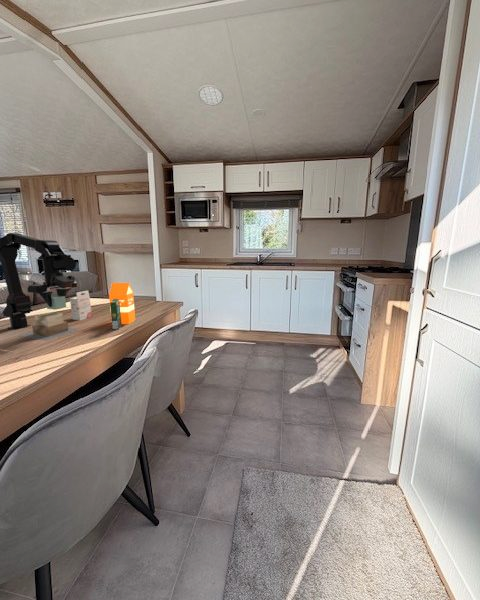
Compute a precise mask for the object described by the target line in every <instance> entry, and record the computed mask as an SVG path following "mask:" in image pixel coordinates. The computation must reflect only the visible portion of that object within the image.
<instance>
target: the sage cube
mask: <svg viewBox="0 0 480 600" xmlns="http://www.w3.org/2000/svg"><path fill="white" fill-rule="evenodd" d="M51 300H52V307H49V306H48V304H47V303H46V302H45V304H46V309H47V310H54V311H55V310H60V309H64V308H67V301H66V296H58V295H51Z"/></svg>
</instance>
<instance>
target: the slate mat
mask: <svg viewBox="0 0 480 600" xmlns="http://www.w3.org/2000/svg"><path fill="white" fill-rule="evenodd" d="M80 330H81V328H75V327H68V331H65V332H62V333H59V334H56V335H53V336H49V337H48V336H40V335H33V331H32V332H28V333H26V334H21V335H19V337H21V338H29V339H34V340H42V341H49V340H52V339H55V338H58V337H61V336H64V335H67V334H71V333H74V332H76V331H80Z"/></svg>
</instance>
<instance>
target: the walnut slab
mask: <svg viewBox="0 0 480 600" xmlns="http://www.w3.org/2000/svg"><path fill="white" fill-rule="evenodd" d="M31 327H32V332H33V335H40V336H48V337H49V336H53V335H56V334H59V333H62V332H65V331H68V328H69V325H68V321H64V322H63V323H59V324H56V325H52V326H49V327H48V326H39V325H36V324H32V325H31Z"/></svg>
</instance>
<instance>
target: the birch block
mask: <svg viewBox="0 0 480 600" xmlns="http://www.w3.org/2000/svg"><path fill="white" fill-rule="evenodd" d="M34 319H35V325H39V326H48V327H49V326H52V325H56V324H59V323H63V322H65V321H64V315H63V313H62V312H51V311H50V312H47V313H43V314H42V313H41V314H39V315H35V316H34Z"/></svg>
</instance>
